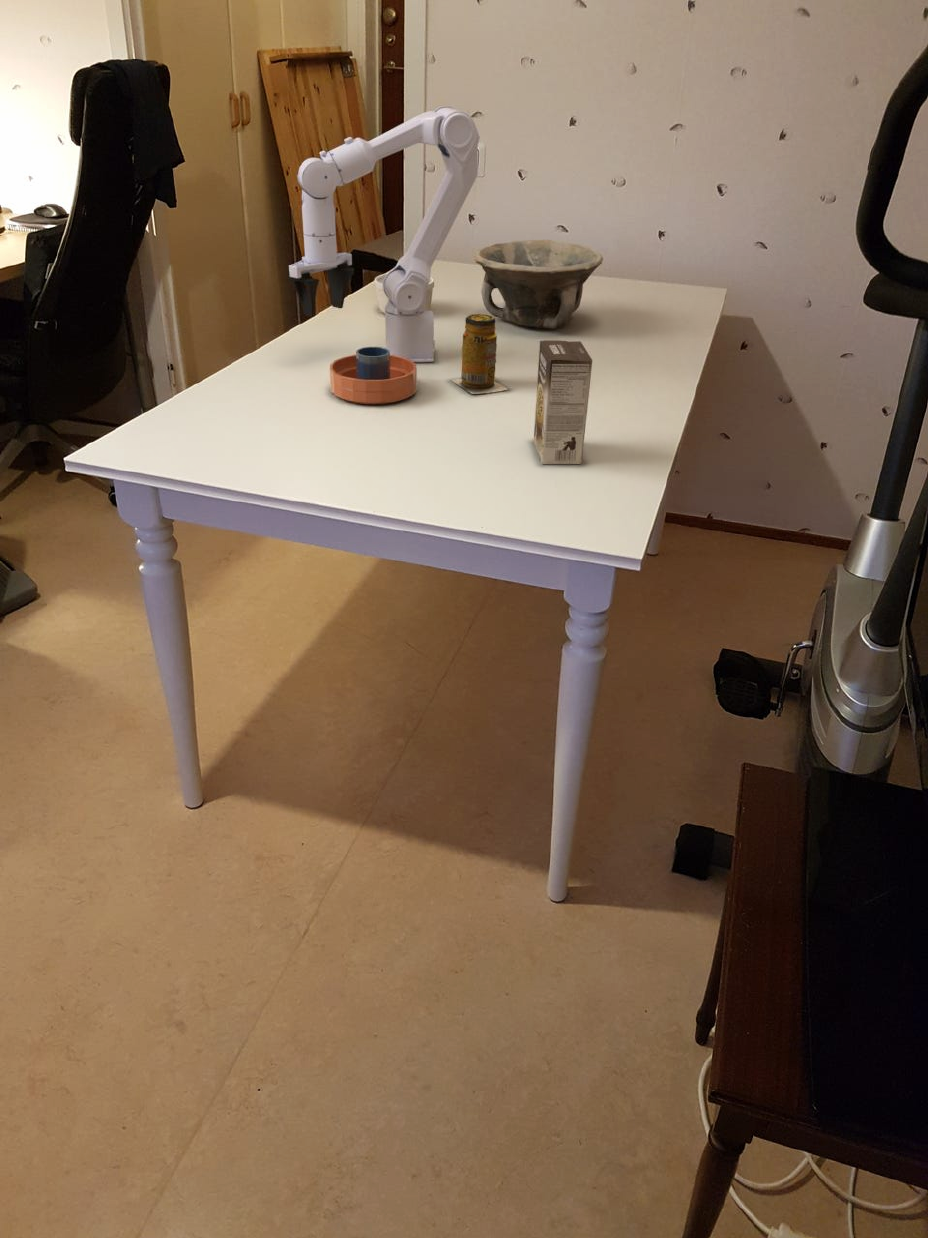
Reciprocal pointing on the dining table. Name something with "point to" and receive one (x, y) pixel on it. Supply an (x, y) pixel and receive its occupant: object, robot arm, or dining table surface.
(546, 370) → the coffee box
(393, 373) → the clay bowl
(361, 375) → the cup
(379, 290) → the ramekin
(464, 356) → the condiment
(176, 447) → the dining table surface
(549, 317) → the bowl
